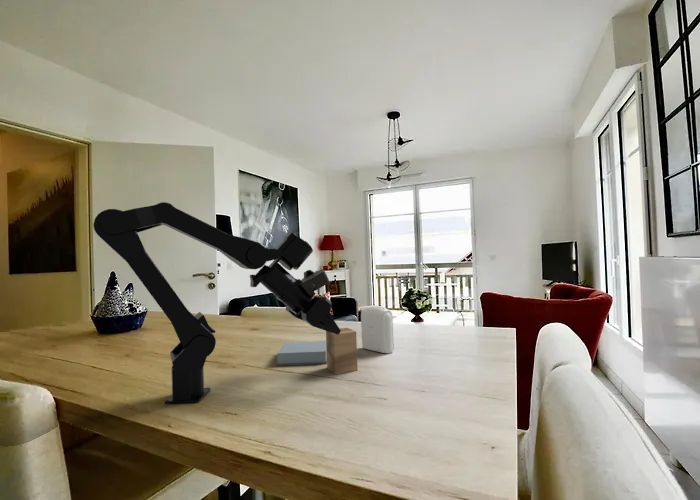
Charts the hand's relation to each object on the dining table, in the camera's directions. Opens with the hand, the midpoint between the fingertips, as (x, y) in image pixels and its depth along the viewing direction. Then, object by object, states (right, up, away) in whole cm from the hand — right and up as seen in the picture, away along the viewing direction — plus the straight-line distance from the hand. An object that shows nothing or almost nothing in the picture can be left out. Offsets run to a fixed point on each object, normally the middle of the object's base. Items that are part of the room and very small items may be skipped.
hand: (332, 329), depth 85 cm
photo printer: (+12, -10, +17) cm, 23 cm away
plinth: (-8, -10, +11) cm, 17 cm away
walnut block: (+2, -10, +1) cm, 10 cm away
